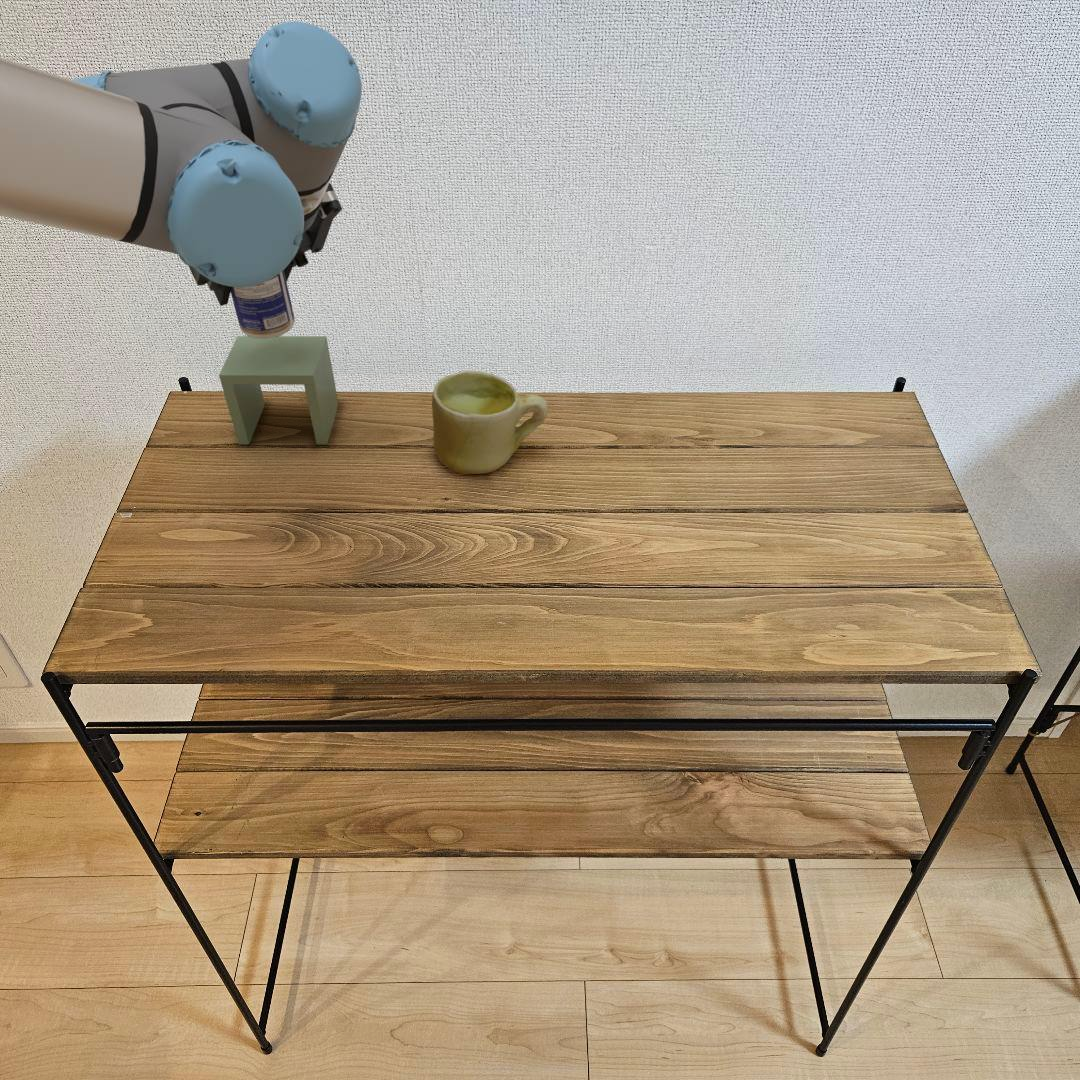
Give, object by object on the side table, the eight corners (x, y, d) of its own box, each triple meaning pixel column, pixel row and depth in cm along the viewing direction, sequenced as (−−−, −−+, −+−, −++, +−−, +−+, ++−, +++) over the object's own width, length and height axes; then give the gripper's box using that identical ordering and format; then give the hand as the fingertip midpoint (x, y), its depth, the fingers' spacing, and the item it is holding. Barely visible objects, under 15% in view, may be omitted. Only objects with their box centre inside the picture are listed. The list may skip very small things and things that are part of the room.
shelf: (238, 444, 100) (218, 375, 94) (255, 403, 106) (237, 335, 100) (327, 445, 100) (313, 375, 94) (338, 404, 106) (326, 336, 100)
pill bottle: (251, 312, 97) (229, 223, 90) (302, 315, 96) (284, 225, 89) (232, 339, 92) (208, 248, 86) (285, 342, 92) (265, 251, 85)
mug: (410, 470, 94) (428, 380, 89) (432, 439, 103) (449, 356, 99) (522, 500, 94) (545, 413, 89) (533, 467, 103) (555, 386, 99)
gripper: (187, 249, 70) (175, 344, 90) (398, 194, 77) (342, 292, 98) (145, 160, 69) (143, 275, 90) (362, 113, 77) (313, 229, 98)
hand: (247, 284), depth 94 cm, fingers closed on pill bottle, 6 cm apart
